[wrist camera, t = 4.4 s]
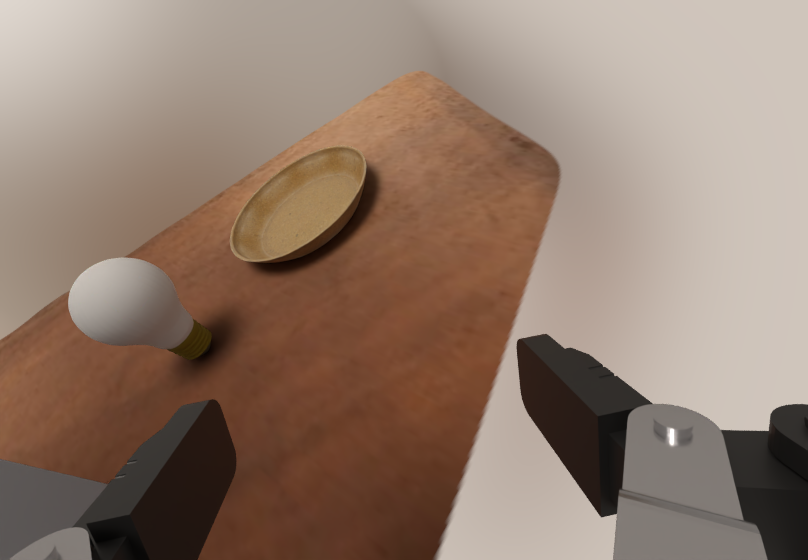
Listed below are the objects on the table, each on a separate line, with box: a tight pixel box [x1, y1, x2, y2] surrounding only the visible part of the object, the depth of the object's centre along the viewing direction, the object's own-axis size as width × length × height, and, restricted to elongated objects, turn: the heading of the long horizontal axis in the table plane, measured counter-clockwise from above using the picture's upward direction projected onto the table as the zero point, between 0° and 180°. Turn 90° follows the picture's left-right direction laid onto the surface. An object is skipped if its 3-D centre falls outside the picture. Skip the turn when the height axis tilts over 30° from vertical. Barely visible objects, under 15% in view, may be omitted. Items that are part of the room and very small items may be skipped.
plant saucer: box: [230, 145, 367, 263], centre depth 36 cm, size 15×15×3 cm
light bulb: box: [68, 258, 212, 360], centre depth 27 cm, size 6×6×10 cm
